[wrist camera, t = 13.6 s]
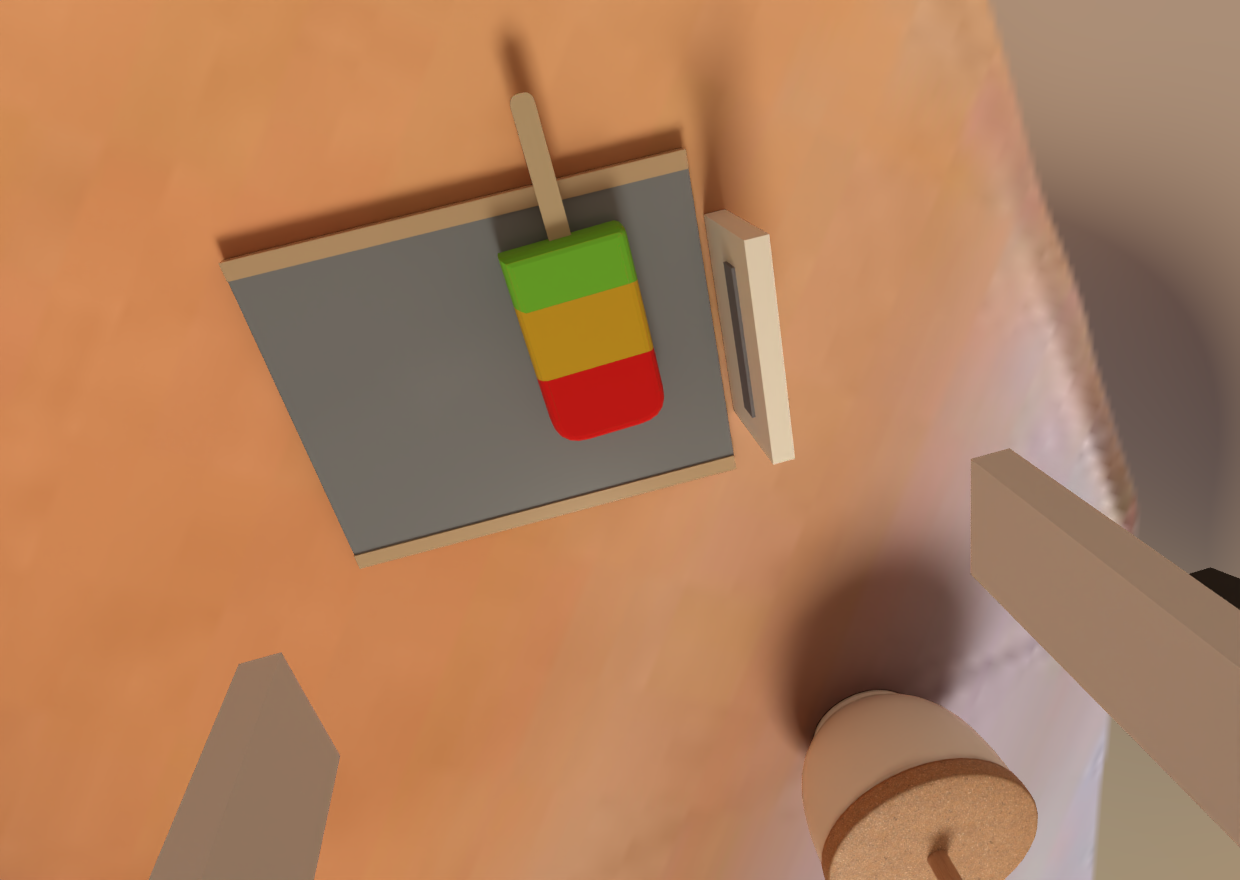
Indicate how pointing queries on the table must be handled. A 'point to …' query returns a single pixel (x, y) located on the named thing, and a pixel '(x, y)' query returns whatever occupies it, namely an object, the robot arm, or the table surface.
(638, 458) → the slate board
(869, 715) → the lidded bowl
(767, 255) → the word card
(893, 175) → the table surface
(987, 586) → the robot arm
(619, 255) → the popsicle
